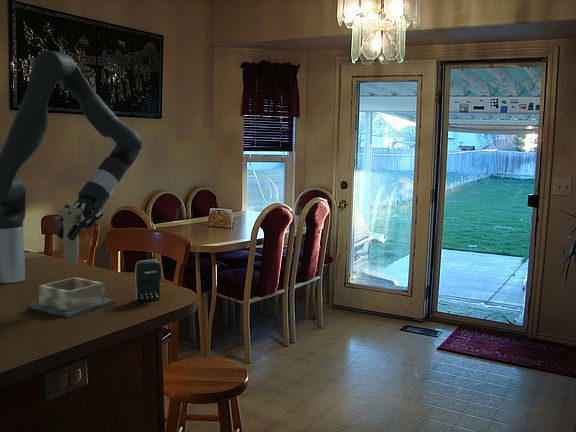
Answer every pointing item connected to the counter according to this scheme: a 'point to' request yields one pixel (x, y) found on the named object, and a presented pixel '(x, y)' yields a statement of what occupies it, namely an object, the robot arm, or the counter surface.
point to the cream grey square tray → (71, 297)
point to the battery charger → (147, 280)
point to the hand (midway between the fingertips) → (64, 237)
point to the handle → (69, 221)
